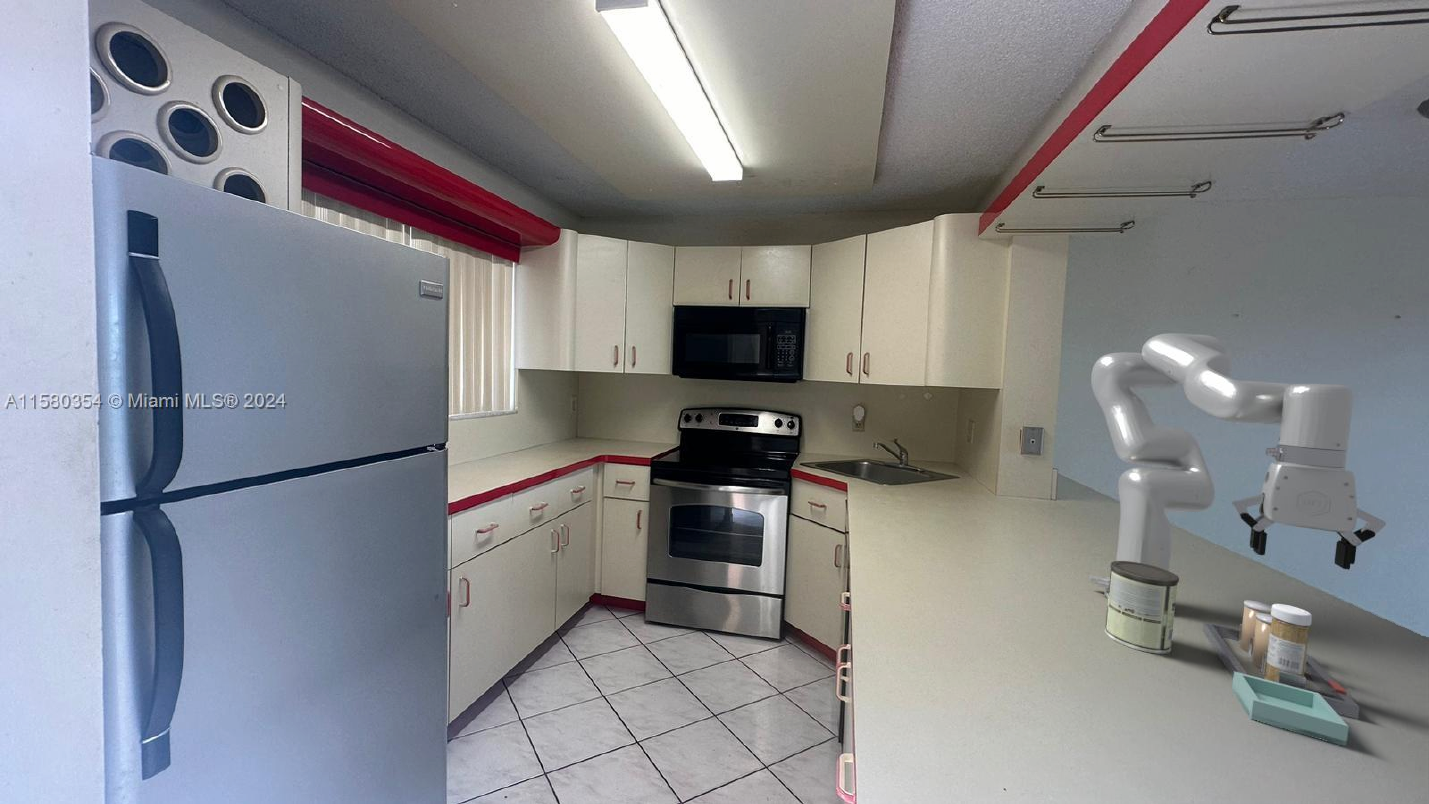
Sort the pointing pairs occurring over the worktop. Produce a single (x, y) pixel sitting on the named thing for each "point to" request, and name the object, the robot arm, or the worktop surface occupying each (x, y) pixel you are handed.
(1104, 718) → the worktop surface
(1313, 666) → the frame
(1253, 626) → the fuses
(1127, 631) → the coffee can
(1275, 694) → the tray
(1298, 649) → the sprinkles bottle
